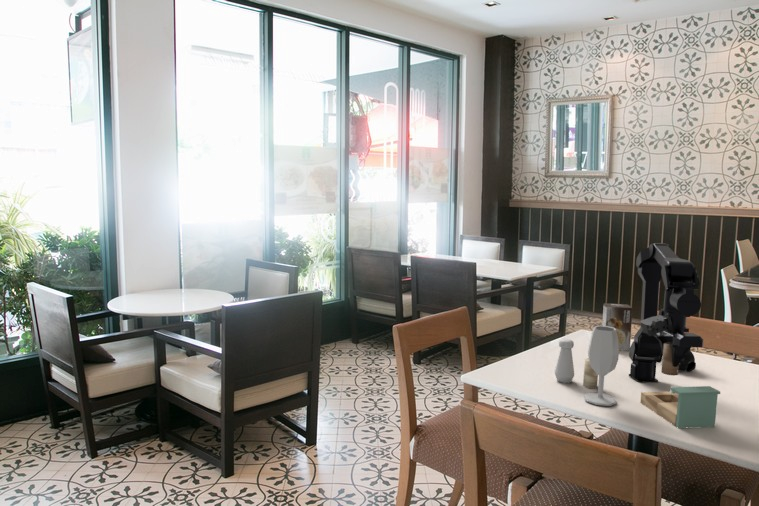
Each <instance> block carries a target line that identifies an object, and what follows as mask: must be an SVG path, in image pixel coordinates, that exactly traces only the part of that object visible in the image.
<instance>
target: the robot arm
mask: <svg viewBox="0 0 759 506" xmlns="http://www.w3.org/2000/svg"><path fill="white" fill-rule="evenodd" d="M635 261H636V262H635V265H636V268H637V274H638V276H639V277H640V279H641V280H642V289H641V290H642V292H641V311H640V313H641V314H640V328H639V329H638V330H637V332H635V334H634V338H633V341H632V343H631V344H630V349H629V350H628V357H629V359H630V361H631V363H630V369H629V370H630V373H628V376H629V377H630V378H632V379H633V380H635V381H636V382H639V383H653V382H654V383H657V382H659V380H658V379H657V378H656V374H657V363H660V364H662V359H663V347H664V343H666V342H667V343H668V344H669V345H670V346H671V347H672V364H673V367H677V366H678V365H679V363H680V362H681V360H682V359H683V357H684V356H685V355H686V353H687V352H688V351H689V350H691V349H692V348H703V347H704V338H703V337H701V336H700V335H698V334H696V333H694V332H690V328H688V327H687V318H691V316H695V315H696V314H698V313H699V311H700V310H701V308H702V302H701V299H700V297H699V296H698V295H696V294H695V290H699V288H700V287H699V285H700V284H701V283H700V280H699V279H700V278H699V274H698V271H697V268H696V267H695V266H694V264H693V262H692V261H690V260H687V259H683V258H680V257H679V256H678V255H677V254H676V253H675V252H674V251H673V250H672V249H671V245H670V244H668V243H661V242H659V243H658V242H657V243H656V242H655V243H651V244H650V245H649V246H648V247H647V248H644V249H643V250H640V252H639V253H638V255H637V257H636V260H635ZM661 281H662V282H663V286H664V300H663V308H660V309H659V294H660V293H659V290H660V288H659V287H660V282H661ZM658 309H659V310H658Z"/></svg>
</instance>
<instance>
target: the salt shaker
mask: <svg viewBox="0 0 759 506" xmlns="http://www.w3.org/2000/svg"><path fill="white" fill-rule="evenodd" d="M558 346H559V348H560V351H559V355H558V358H557V360H556V361H557V362H556V366H555V369H554V375H555V379H556V381H558V382H560V383H562V384H569V383H571V382H572V381H573V379H574V377H575V365H574V359H573V352H572V351H573V350H572V349H574V348H575V347H574V346H575V343H574V341H573V340H572V339H569V338H561V339H560V340H559V341H558Z"/></svg>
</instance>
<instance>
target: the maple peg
mask: <svg viewBox="0 0 759 506" xmlns="http://www.w3.org/2000/svg"><path fill="white" fill-rule="evenodd" d="M583 366H584V367H583V379H582V380H583V381H582V382H583V383H582V386H583V387H585V388H588V389H596V388H597V389H598V382H599V375H598V374H597V373H596V372H595V371H594V370H593V369H592V368H591V366H590V362H589V357H588V358H587V357H586V358H584V365H583Z"/></svg>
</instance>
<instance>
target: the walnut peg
mask: <svg viewBox="0 0 759 506" xmlns="http://www.w3.org/2000/svg"><path fill="white" fill-rule="evenodd" d="M678 366H679V365H678ZM678 366H677V367H673V364H672V347H671V346H670V345H669V344H668V343H667V342H666V343H664V347H663V356H662V360H661V374H663V375H666V376H678V375H679V371H678Z"/></svg>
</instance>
